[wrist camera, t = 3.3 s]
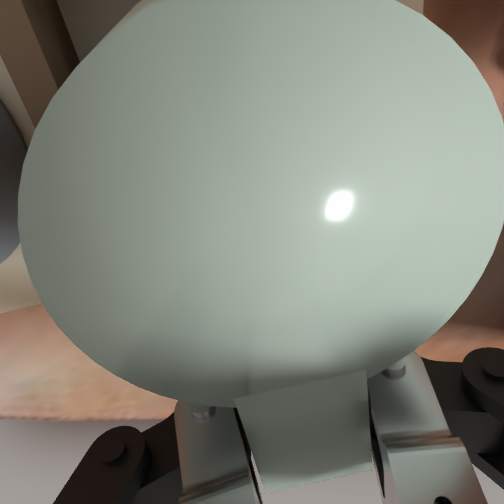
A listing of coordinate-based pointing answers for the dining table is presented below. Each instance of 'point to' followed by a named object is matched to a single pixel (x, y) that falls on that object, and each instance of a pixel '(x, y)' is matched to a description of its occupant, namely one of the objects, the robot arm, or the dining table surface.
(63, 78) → the jug stand
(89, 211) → the sage jug
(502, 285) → the dining table surface
